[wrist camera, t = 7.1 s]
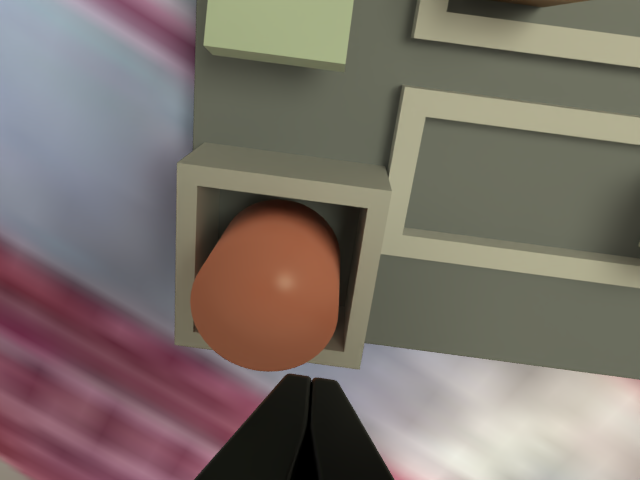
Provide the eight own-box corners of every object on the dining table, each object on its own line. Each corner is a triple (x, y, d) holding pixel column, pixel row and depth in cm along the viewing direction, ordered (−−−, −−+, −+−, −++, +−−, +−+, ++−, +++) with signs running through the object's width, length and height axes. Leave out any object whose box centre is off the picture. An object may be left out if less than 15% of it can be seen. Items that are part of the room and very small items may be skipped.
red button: (332, 316, 18) (328, 380, 14) (218, 301, 18) (188, 361, 14) (348, 208, 16) (348, 251, 13) (223, 191, 16) (191, 230, 13)
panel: (686, 359, 22) (777, 447, 17) (202, 295, 22) (162, 365, 17) (927, -147, 15) (1190, -230, 10) (221, -238, 15) (164, -362, 10)
